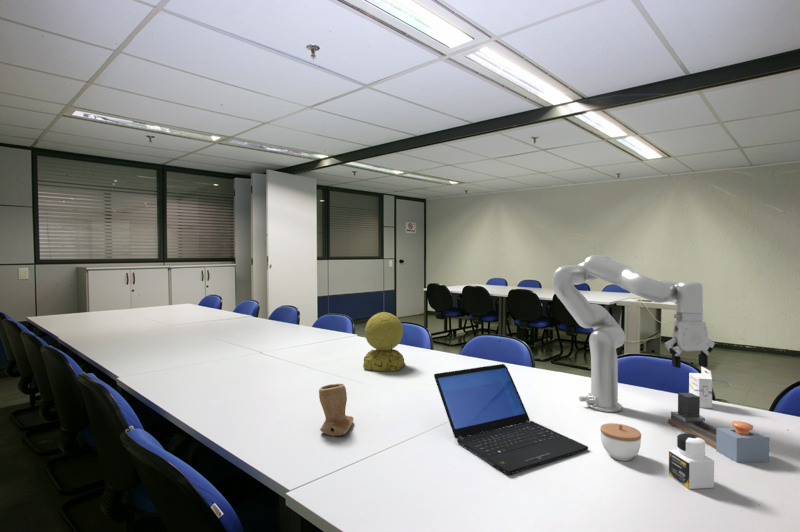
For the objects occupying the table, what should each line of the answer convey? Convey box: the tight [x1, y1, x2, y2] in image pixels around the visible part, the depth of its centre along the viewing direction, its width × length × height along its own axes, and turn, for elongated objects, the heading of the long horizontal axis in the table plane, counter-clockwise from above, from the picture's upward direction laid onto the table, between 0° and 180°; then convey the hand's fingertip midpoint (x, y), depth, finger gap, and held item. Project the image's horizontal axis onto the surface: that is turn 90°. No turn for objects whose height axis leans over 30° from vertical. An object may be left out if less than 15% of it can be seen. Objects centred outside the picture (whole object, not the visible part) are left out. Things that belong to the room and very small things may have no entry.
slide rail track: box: [667, 411, 718, 450], centre depth 137 cm, size 8×22×4 cm, turn 3°
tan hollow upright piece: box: [318, 383, 354, 437], centre depth 144 cm, size 15×12×15 cm
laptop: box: [433, 363, 589, 475], centre depth 135 cm, size 33×38×19 cm
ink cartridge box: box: [688, 366, 713, 409], centre depth 166 cm, size 9×5×15 cm, turn 168°
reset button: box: [731, 420, 754, 436], centre depth 123 cm, size 5×5×4 cm
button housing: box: [715, 427, 770, 463], centre depth 123 cm, size 10×7×7 cm
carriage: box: [672, 392, 706, 425], centre depth 144 cm, size 7×6×10 cm
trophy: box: [362, 311, 405, 372], centre depth 227 cm, size 22×22×30 cm
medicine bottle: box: [668, 432, 715, 490], centre depth 108 cm, size 7×7×12 cm
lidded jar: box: [600, 422, 642, 462], centre depth 123 cm, size 11×11×9 cm
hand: (689, 366), depth 143 cm, fingers open, 9 cm apart
